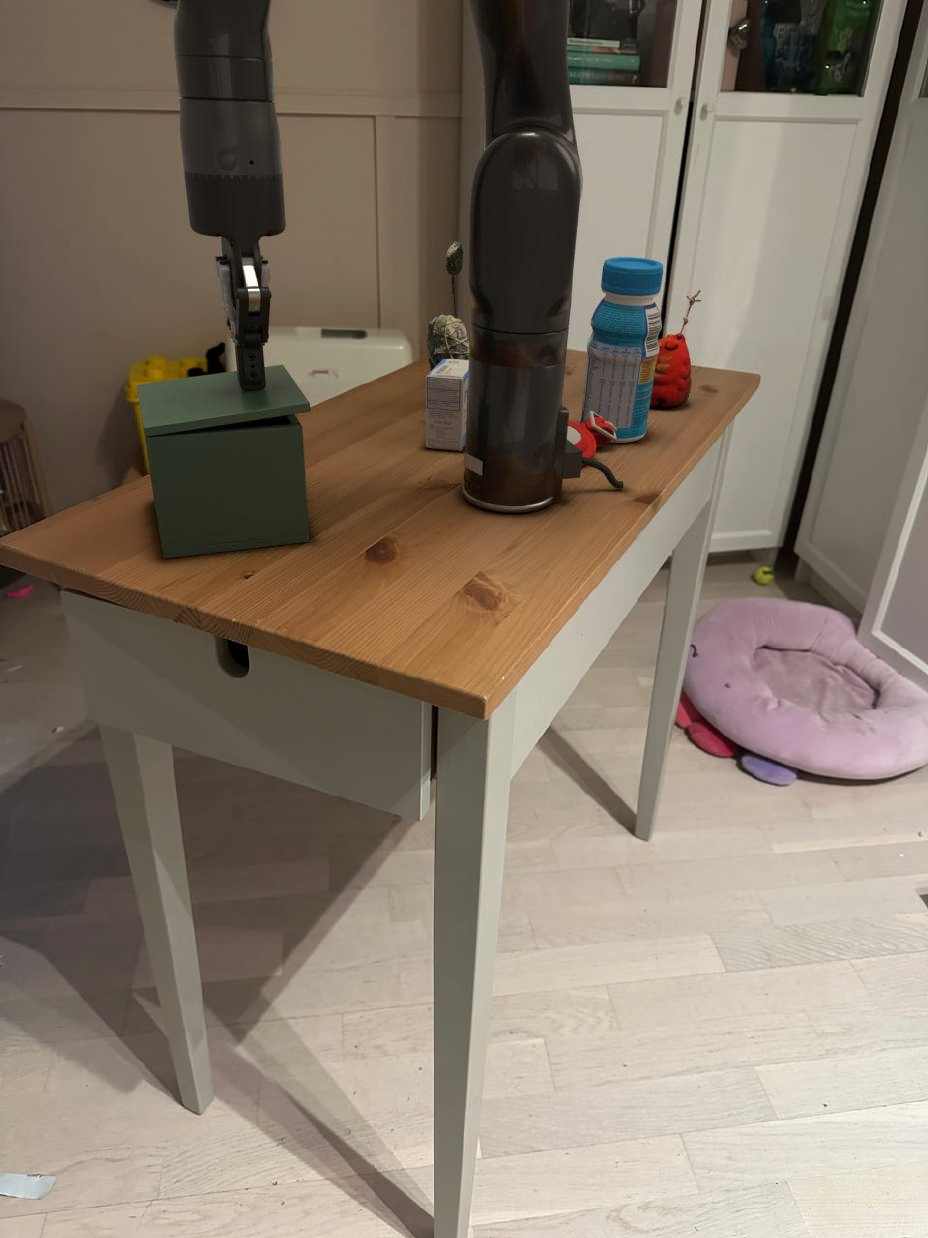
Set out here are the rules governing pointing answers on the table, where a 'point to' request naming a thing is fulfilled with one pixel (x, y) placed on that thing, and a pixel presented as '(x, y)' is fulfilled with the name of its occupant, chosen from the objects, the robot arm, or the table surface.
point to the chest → (229, 486)
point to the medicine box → (447, 405)
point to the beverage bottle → (624, 346)
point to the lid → (216, 401)
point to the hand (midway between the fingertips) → (252, 387)
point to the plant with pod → (449, 321)
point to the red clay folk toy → (673, 369)
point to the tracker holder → (591, 434)
